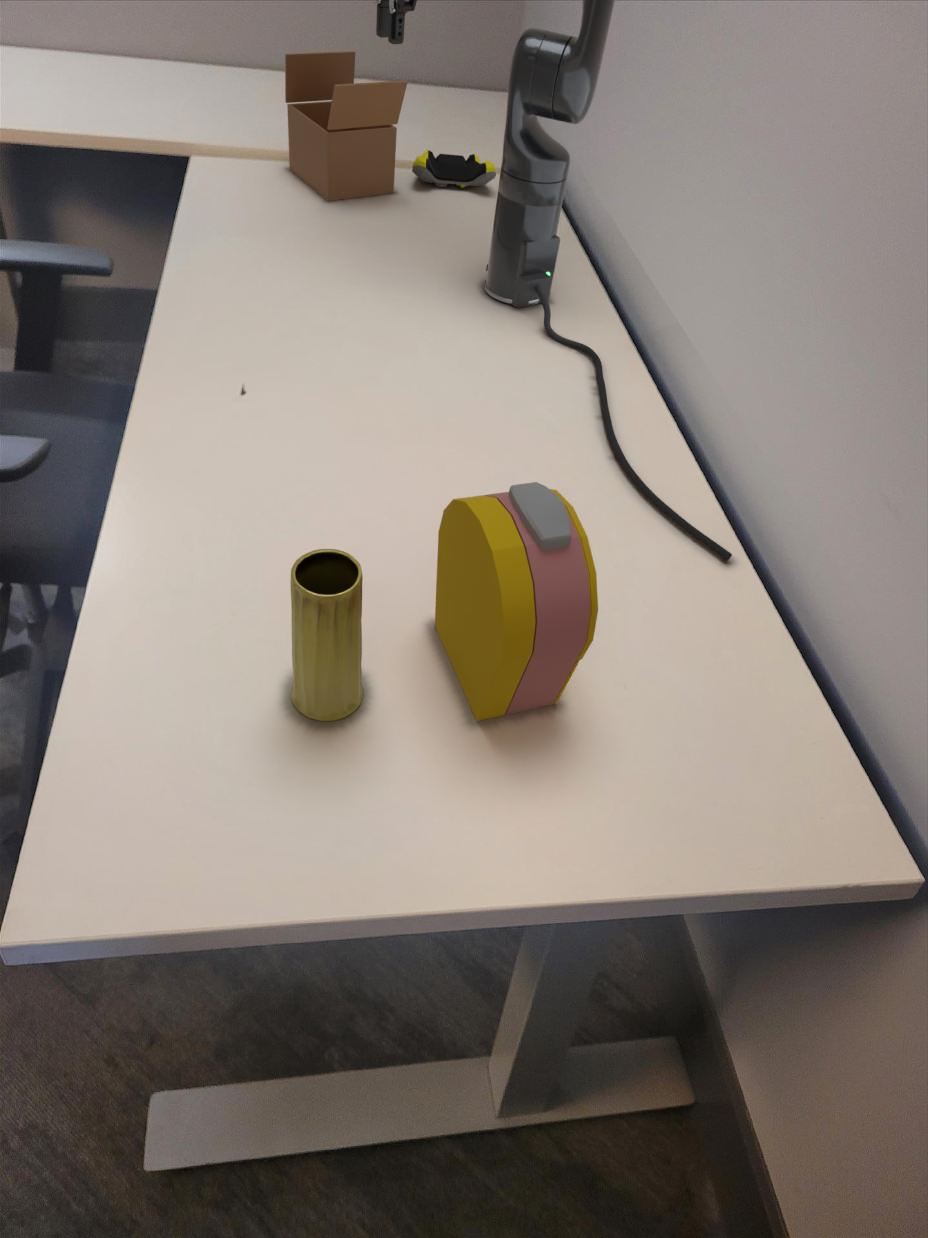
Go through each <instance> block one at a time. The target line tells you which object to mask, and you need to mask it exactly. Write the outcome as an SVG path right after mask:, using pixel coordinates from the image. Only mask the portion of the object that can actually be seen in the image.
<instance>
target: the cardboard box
mask: <svg viewBox="0 0 928 1238" xmlns="http://www.w3.org/2000/svg"><path fill="white" fill-rule="evenodd" d="M284 59H285V60H284V62H285V64H284V71H285V72H284V73H285V74H284V77H285V78H284V80H285V81H284V82H285V83H284V84H285V86H284V87H285V88H284V89H285V90H284V91H285V94H284V95H285V96H284V99H285V103H286V105H287V134H288V164H289V165H288V166H289V170H290V171H291V172H292V173H293V174H295V175H296V176H297V177H298V178H300V179H301V180H302V181H303V182H304V183H305V184H306V185H308V186H309V187H310V188H311V189H313V190H314V191H315V192H316V193H317V194H318V195H320V196H321V197H322V198H324V199H325V200H326V201H327V202H333V201H339V200H340V201H341V200H347V199H355V198H362V197H363V198H365V197H373V196H378V195H379V196H380V195H387V194H394V193H395V191H394V189H395V173H396V172H395V171H396V153H397V134H398V133H397V131H398V130H397V129H398V128H397V127H396V126H395V125H382V126H370V127H357V128H345V129H333V130H328V129H327V127H328V121H329V115H330V109H331V103H332V97H333V91H334V85H336V84H354V83H355V67H356V51H354V50H352V51H351V50H350V51H349V50H348V51H346V50H345V51H322V52H320V51H319V52H297V53H296V52H295V53H285V54H284Z"/></svg>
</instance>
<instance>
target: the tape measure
mask: <svg viewBox="0 0 928 1238" xmlns="http://www.w3.org/2000/svg"><path fill="white" fill-rule="evenodd" d="M437 533H438V535H437V558H436V559H437V560H436V584H435V586H436V587H435V608H434V609H435V611H434V627H435V630H436V632H437V635H438V637H439V640H440V641H441V644H442V646H443V649H444V650H445V652H446V655H447V657H448V659H449V663H450V664H451V666H452V669H453V671H454V674H455V675H456V678H457V680H458V681H459V682H458V683H459V684H460V687H461V689H462V691H463V694H464V697H465V699H466V700H467V703H468V706H469V707H470V709H471V712H472V714H473V716H474V719H475V721H476V722H480V721H485V720H490V719H494V718H498V717H502V716H503V717H504V716H506V715H512V714H516V713H517V714H518V713H520V712H525V711H529V710H535V709H539V708H544V707H547V706H548V707H549V706H552V705H557V703H558V701H559V700H560V698H561V696H562V694H563V693H564V690H565V688H566V687H567V685H568V683H569V682H570V679H571V677H572V676H573V674H574V672H575V670H576V668H577V667H578V665H579V662H580V661H581V660H583V658H584V657H585V655H586V653H587V651H588V650H589V648H590V646H591V645H592V644H593V641H594V638H595V631H596V625H597V620H598V614H599V602H598V601H599V597H598V581H597V580H598V579H597V571H596V570H597V569H596V567H595V562H594V558H593V554H592V550H591V549H592V548H591V546H590V541H589V538H588V537H589V536H588V535H587V532H586V531H585V529H584V526H583V524H582V522H581V520H580V518H579V516H578V514H577V512H576V510H575V508H574V506H573V505H572V504H571V503H570V502H569V501H568V500H567V499H566V497H564V496H563V495H562V494H561V493H560V492H559V491H558V489H553V488H549V487H548V486H546V485H544V484H542V483H540V482H537V481H536V482H535V481H534V482H525V483H519V484H511V486H510V487H509V490H508V491H504V492H497V493H490V494H489V493H488V494H484V495H483V494H481V495H474V496H466V497H460V498H453V499H452V500H451V501H450V502H449V503H448V505H447V506H445V508H444V509H443V511H442V516H441V521H440V524H439V528H438V532H437Z"/></svg>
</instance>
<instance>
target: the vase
mask: <svg viewBox="0 0 928 1238" xmlns="http://www.w3.org/2000/svg"><path fill="white" fill-rule="evenodd" d="M290 569H291V570H290V603H291V661H292V672H293V673H292V674H293V680H292V682H291V683H292V684H291V690H290V698H291V701H292V703H293V705H294V707H295V708H296V709H297V711H299V712H300V713H301V714H302V715H304V716H305V717H307V718H310V719H313V720H316V721H321V722H333V721H338V720H342V719H344V718H346V717H348V716H350V715H351V714H352V713H354V712H356V710H357V709H359V707H360V706H361V703H362V701H363V698H364V692H365V691H364V689H365V687H364V684H363V677H362V675H363V674H362V673H363V671H362V659H363V643H362V642H363V637H362V636H363V630H362V629H363V628H362V627H363V626H362V625H363V624H362V616H363V578H364V577H363V570H362V566H361V564H360V562H359V561H358V560H357V559H356V558H355V557H354V556H353V555H352V554H350V553H348V552H346V551H343V550H340V549H336V548H319V549H314V550H310V551H309V552H306V553H304V554H302V555H301V556H299V557H298V558H297V559H296V560H295V562H294V563H293V564H292V567H291V568H290Z"/></svg>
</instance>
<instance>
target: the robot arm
mask: <svg viewBox="0 0 928 1238" xmlns="http://www.w3.org/2000/svg"><path fill="white" fill-rule="evenodd" d="M417 1H418V0H373V3H374V6H376V26H375V34H376V35H377V37H379V38H387V41H388V43H390V44H391V45H402V44H403V43H404V39H405V24H406V23H405V21H406V20H405V19H406V14H408V13H409V12H414V11H415V9H416V6H417ZM581 1H582V9H581V21H580V28H579V32H578V36H573V35H570V34H566V33H561V32H557V31H552V30H548V29H543V28H537V27H529V28H526V29H525V30H524V31H522V33H521V34H520V35H519V37H518V39H517V41H516V43H515V45H514V50H513V52H512V57H511V62H510V67H509V76H508V77H509V78H508V84H507V85H508V86H507V101H506V112H505V124H504V131H503V139H502V140H503V142H502V157H501V166H500V173H499V180H498V186H497V187H498V188H497V195H496V203H495V210H494V218H493V225H492V234H491V241H490V248H489V256H488V263H486V268H485V271H486V279H485V281H484V291H485V292H486V293H487V294H488V296H489V297H491V298H493V299H495V300H496V301H499V302H502V303H505V304H508V305H511V306H513V307H515V308H517V309H519V308H524V307H529V306H532V305H537V304H541V305H542V308H543V328H544V330H545V332H546V333H547V335H548V336H549V337H550V338H551V339H552V340H554V341H555V342H557V343H559V344H562V345H564V346H567V347H569V348H572V349H575V350H578V351H581V352H583V353H584V354H586V355H588V356H589V358H591V360H592V362H593V364H594V367H595V374H596V377H595V378H596V382H597V387H598V392H599V402H600V408H601V413H602V419H603V424H604V428H605V432H606V436H607V440H608V442H609V445H610V447H611V449H612V451H613V453H614V455H615V458H616V459H617V461H618V463H619V465H620V466H621V468H622V469H623V471H624V473H625V474H626V475H627V477H628V478H629V479H630V480H631V482H632V483H633V484H634V486H636V488H637V489H638V490H639V491H640V492H641V493H642V494H643V495H644V497H646V498H647V499H648V500H649V501H650V502H651V504H653V505H654V506H655V507H656V508H657V509H658V510H660V511H661V512H662V513H663V514H664V515H666V516H667V517H668V518H669V519H670V520H672V521H673V523H675V524H676V525H678V526H679V527H680V528H681V529H683V530H684V532H687V533H688V534H689V535H690V536H691V537H693V538H695V539H696V540H697V541H699V542H700V543H701V544H703V545H704V546H706V547H707V548H708V549H710V550H711V551H713V552H714V553H715V554H717V555H718V556H719V557H721V558H722V559H724V560H725V561H729V560H730V559H731V558H732V556H733V554H732V553H731V552H730V551H729V550H727V549H726V548H724V547H723V546H721V545H720V544H718V543H717V542H715V541H714V540H713V539H711V538H710V537H709V536H707V535H706V534H704V533H703V532H701V531H700V530H699V529H698V528H696V527H695V526H693V525H692V524H691V523H690V522H688V521H687V520H686V519H685V518H683V517H682V516H681V515H679V513H677V512H676V511H675V510H673V508H671V507H670V506H669V505H667V504H666V503H665V502H664V501H663V500H662V499H661V498H659V497H658V495H656V494H655V492H653V490H651V489H650V488H649V487H648V486H647V485H646V483H645V482H644V481H643V480H642V479H641V477H640V476H639V475H638V474H637V472H636V471H635V470H634V469H633V467H632V466H631V464H630V463H629V461H628V459H627V458H626V455H625V454H624V452H623V450H622V448H621V446H620V444H619V441H618V439H617V437H616V434H615V430H614V426H613V423H612V417H611V413H610V408H609V403H608V396H607V388H606V383H605V378H604V371H603V363H602V361H601V358H600V356H599V355H598V353H597V352H595V351H594V350H593V349H592V348H591V347H589V346H588V345H586V344H584V343H581V342H579V341H576V340H571V339H568V338H565V337H563V336H562V335H559V334H558V333H556V331H554V329H553V328H552V326H551V315H552V314H551V308H550V307H551V306H550V304H549V301H550V296H551V292H552V285H553V281H554V275H555V269H556V265H557V259H558V253H559V248H560V245H561V244H560V243H561V238H560V236H558V228H559V223H560V218H561V211H562V207H563V201H564V196H565V191H566V186H567V181H568V175H569V170H570V166H571V155H570V153H569V151H568V149H567V148H566V147H564V145H562V144H561V143H560V142H558V141H557V140H556V139H555V138H554V137H552V136H551V135H550V134H549V133H548V132H547V131H546V130H545V129H544V127H543V126H542V125H541V122H540V121H539V119H538V117H540V118H544V119H549V120H552V121H557V122H562V123H565V124H570V125H578V124H580V123H581V122H582V121H583V120H584V119H585V118H586V117H587V115H588V113H589V110H590V108H591V106H592V102H593V100H594V96H595V93H596V90H597V86H598V82H599V77H600V73H601V69H602V65H603V64H602V63H603V59H604V54H605V49H606V45H607V39H608V34H609V30H610V24H611V20H612V15H613V12H614V11H613V10H614V6H615V1H616V0H581Z"/></svg>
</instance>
